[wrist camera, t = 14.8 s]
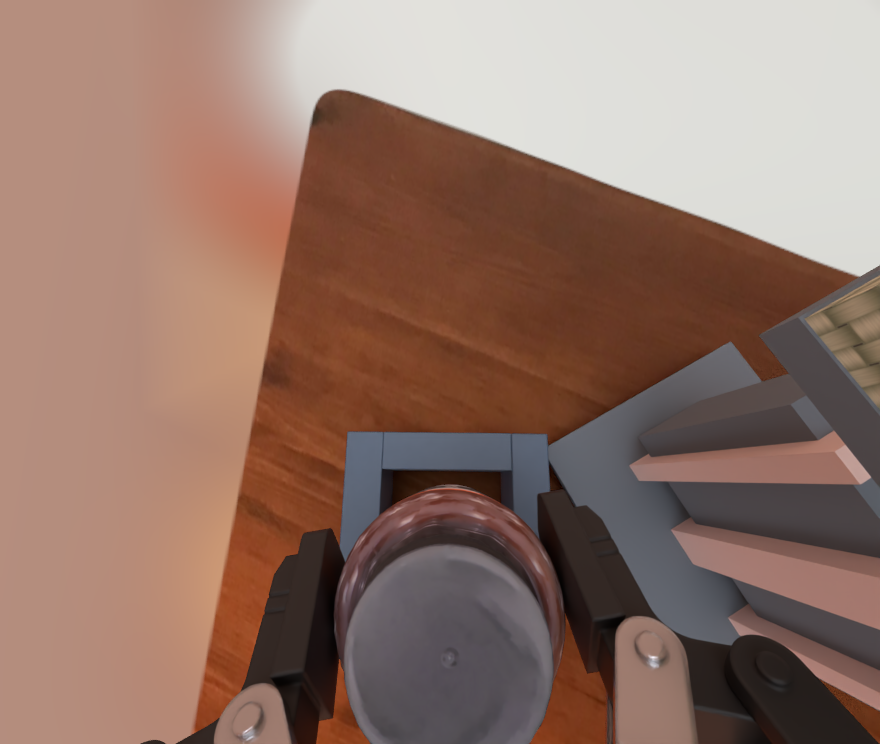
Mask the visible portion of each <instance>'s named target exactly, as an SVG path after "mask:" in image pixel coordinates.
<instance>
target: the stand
mask: <svg viewBox="0 0 880 744" xmlns="http://www.w3.org/2000/svg"><path fill="white" fill-rule="evenodd" d="M393 471H458V472H501V504H503V505H504V506H506V507H507V508H509V509H510V510H512V511H513V512H514V513H515V514H517V515H518V516H519V517H520V518H521V519H522V520H523V521H524V522H525V523H526V524H527V525H528V526H529V527H530V528H531V529H532V530H533V532H534V533H535V534H536V536H537V537H538V538H539V534H538V518H537V495H538V493H543V492H549V491H550V475H549V456H548V437H547V434H518V433H512V434H510V433H435V432H348V433H347V447H346V462H345V476H344V491H343V505H342V520H341V534H340V550H341V552H342V555H343V557H344V560H345V562H346V560H347V557H348V555H349V553H350V551H351V550H352V548H353V546H354V545H355V543H356V541H357V539H358V538H359V536H360V535H361V534H362V533H363V532H364V530H365V529H366V528H367V527H368V526H369V525H370V524H371V523H372V522H373V521H374V520H375V519H376V518H377V517H378V516H379V515H380V514H381V513H383V512H384V511H385V510H387V509H388V508H390V507H391V506H392V492H393ZM539 540H540V539H539ZM339 659H340V657H339Z"/></svg>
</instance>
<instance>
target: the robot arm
mask: <svg viewBox="0 0 880 744" xmlns="http://www.w3.org/2000/svg"><path fill="white" fill-rule="evenodd" d="M537 518H538V534H539V539H540V541H541V543H542V544H543V546H544V547H545V549H546V551H547V553H548V555H549V556H550V558H551V561H552V563H553V565H554V568H555V570H556V573H557V576H558V579H559V582H560V586H561V589H562V593H563V601H564V608H565V613H566V616H567V619H568V622H569V624H570V627H571V630H572V633H573V635H574V638H575V641H576V644H577V647H578V649H579V652H580V655H581V658H582V660H583V663H584V666H585V669H586V671H587V673H593V672H598V671H599V672H600V675H601V678H602V680H603V683H604V685H605V688H606V690H607V691H606V722H605V744H879V743H878V742H877V741H876V740H875V739H874V738H873V737H872V736H871V735H870V734H869V733H868V732H867V730H866V729H865V728H864V727H863V726H862V725H861V724H860V723H859V722H858V721H857V720H856V719H855V718H854V716H853V715H852V714H851V713H850V712H849V711H848V710H847V709H846V708H845V707H844V706H843V705H842V704H841V703H840V701H839V700H838V699H837V698H836V697H835V696H834V695H833V694H832V693H831V692H830V691H829V690H828V689H827V687H826V686H825V685H824V684H823V683H822V682H821V681H820V680H819V679H818V678H817V677H816V676H815V675H814V674H813V672H812V671H811V670H810V669H809V668H808V667H807V666H806V665H805V664H804V663H803V662H802V661H801V660H800V659H799V658H798V657H797V656H796V655H795V654H794V653H793V652H792V651H790V650H789V649H788V648H787V647H785V646H783V645H782V644H780V643H778V642H777V641H775V640H772V639H770V638H767V637H764V636H760V635H753V634H752V635H744V636H741V637H739V638H737V639H736V640H735V641H734V642H733V644H732V646H731V645H725V644H720V643H714V642H708V641H702V640H697V639H693V638H689V637H686V636H683V635H681V634H679V633H677V632H675V631H674V630H672V629H671V628H669V627H668V626H667V625H665V624H664V623H663V622H662V621H661V620H660V619H659V618H658V617H657V616H656V615H655V613H654V612H653V611H652V609H651V608H650V606H649V604H648V602H647V600H646V599H645V597H644V595H643V593H642V591H641V589H640V588H639V586H638V584H637V582H636V580H635V579H634V577H633V575H632V573H631V571H630V569H629V568H628V566H627V564H626V562H625V560H624V558H623V557H622V555H621V553H619V549H618V547H617V546H616V544H615V542H614V540H613V539H612V538H611V535H610V533H609V531H608V529H607V527H606V526H605V524H604V522H603V520H602V518H600V517H599V516H598V515H597V514H596V513H595V512H594V511H593V510H591V509H590V508H589V507H588V506H587V505H584V506H578V507H573V505H572V503H571V501H570V499H569V497H568V495H567V493H566V492H565V490H563V489H561V490H555V491H549V492H543V493H538V495H537ZM344 565H345V560H344V557H343V555H342V552H341V550H340V547H339V545H338V542H337V540H336V537H335V535H334V532H333V530H332V529H331V528H329V529H324V530H318V531H312V532H306V533H304V534H303V536H302V539H301V543H300V547H299V551H298V554H296V555H290V556H286V557H285V559H284V561H283V562H282V564H281V565H280V567H279V568H278V570H277V571H276V573H275V574H274V577H273V581H272V585H271V589H270V592H269V598H268V600H267V603H266V607H265V614H264V615H263V618H262V622H261V625H260V629H259V633H258V636H257V640H256V644H255V647H254V651H253V655H252V658H251V662H250V666H249V669H248V673H247V677H246V680H245V683H244V685H243V687H242V690H241V692H240V693H239V694H238V695H236V696H235V697H234V698H233V699H232V701H231V702H230V703H229V704H228V705H227V707H226V708H225V710H224V711H223V713H222V715H221V717H220V718H218V719H217V720H216V721H215V722H213V723H212V724H210V725H208V726H207V727H205V728H203V729H201V730H200V731H198V732H196V733H194V734H192V735H191V736H189V737H187V738H185V739H184V740H182V741H180V742H178V743H176V744H316V740H317V732H318V724H319V721H321V720H326V719H332V718H333V712H334V702H335V693H336V683H337V673H338V664H339V654H338V650H337V643H336V639H335V634H334V616H333V613H334V602H335V595H336V591H337V586H338V582H339V579H340V576H341V573H342V569H343V567H344ZM141 744H165V743H164V742H162V741H158V740H151V741H147V742H144V743H141Z"/></svg>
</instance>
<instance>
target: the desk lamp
mask: <svg viewBox="0 0 880 744" xmlns="http://www.w3.org/2000/svg"><path fill="white" fill-rule="evenodd" d="M759 336H760V338H761V339H762V340H763V341H764V343H765V344H766V345H767V347H768V348H769V349H770V350H771V352H772V353H773V354H774V355H775V357H776V358H777V359H778V360H779V362H780V363H781V364H782V365H783V367H784V368H785V369H786V370H787V372H788V373H789V374H786V375H783V376H780V377H776V378H773V379H770V380H766V381H763V382H762V381H761V380H760V379H759V377H758V376H757V375H756V373H755V372H754V371H753V369H752V368H751V367H750V366H749V364H748V363H747V362H746V360H745V359H744V358H743V357H742V355H741V354H740V353H739V351H738V350H737V349H736V347H735V346H734V345H733V344H732V342H729V343H727V344H725V345H723V346H721V347H719V348H718V349H716V350H714V351H713V352H711V353H709V354H707V355H706V356H704V357H702V358H700V359H699V360H697V361H695V362H693V363H692V364H690V365H688V366H686V367H685V368H683V369H681V370H679V371H678V372H676V373H674V374H672V375H671V376H669V377H667V378H665V379H664V380H662V381H660V382H658V383H657V384H655V385H653V386H651V387H650V388H648V389H646V390H644V391H643V392H641V393H639V394H638V395H636V396H634V397H632V398H631V399H629V400H627V401H625V402H624V403H622V404H620V405H618V406H617V407H615V408H613V409H611V410H610V411H608V412H606V413H604V414H603V415H601V416H599V417H597V418H596V419H594V420H592V421H590V422H589V423H587V424H585V425H583V426H582V427H580V428H578V429H576V430H575V431H573V432H571V433H569V434H568V435H566V436H564V437H563V438H561V439H559V440H557V441H556V442H554V443H552V444H550V445H549V446H548V456H549V465H550V466H551V468H552V470H553V471H554V473H555V475H556V476H557V478H558V480H559V481H560V483H561V485H562V486H563V488H564V490H565V491H566V493H567V495H568V496H569V498H570V500H571V501H572V503H573V505H574V506H575V507H578V506H584V505H587V506H588V507H589V508H590V509H591V510H593V511H594V512H595V513H596V514H597V515H598V516H599V517H600V518H602V520H603V522H604V524H605V526H606V527H607V529H608V531H609V533H610V535H611V538H612V539H613V540H614V542H615V544H616V546H617V547H618V549H619V553H621V555H622V557H623V558H624V560H625V562H626V564H627V566H628V568H629V569H630V571H631V573H632V575H633V577H634V579H635V580H636V582H637V584H638V586H639V588H640V589H641V591H642V593H643V595H644V597H645V599H646V600H647V602H648V604H649V606H650V608H651V609H652V611H653V612H654V613H655V615H656V616H657V617H658V618H659V619H660V620H661V621H662V622H663V623H664V624H665V625H667V626H668V627H669V628H671V629H672V630H674V631H675V632H677V633H679V634H681V635H683V636H686V637H689V638H693V639H697V640H702V641H708V642H714V643H720V644H725V645H731V646H732V644H733V642H734V641H735V640H736V639H737V638H739V637H741V636H744V635H752V634H753V635H760V636H764V637H767V638H770V639H772V640H775V641H777V642H778V643H780V644H782V645H783V646H785V647H787V648H788V649H789V650H790V651H792V652H793V653H794V654H795V655H796V656H797V657H798V658H799V659H800V660H801V661H802V662H803V663H804V664H805V665H806V666H807V667H808V668H809V669H810V670H811V671H812V672H813V674H814V675H815V676H816V677H817V678H819V679H821V680H823V681H824V682H826V683H828V684H830V685H832V686H834V687H836V688H837V689H839V690H841V691H843V692H845V693H847V694H849V695H850V696H852V697H854V698H856V699H858V700H860V701H861V702H863V703H865V704H867V705H869V706H871V707H873V708H874V709H876V710H878V711H880V266H878V267H876V268H875V269H873V270H871V271H869V272H868V273H866V274H864V275H862V276H861V277H859V278H857V279H855V280H854V281H852V282H850V283H849V284H847V285H845V286H843V287H842V288H840V289H838V290H836V291H835V292H833V293H831V294H829V295H828V296H826V297H824V298H823V299H821V300H819V301H817V302H816V303H814V304H812V305H810V306H809V307H807V308H805V309H803V310H802V311H800V312H798V313H797V314H795V315H793V316H791V317H790V318H788V319H786V320H784V321H783V322H781V323H779V324H777V325H776V326H774V327H772V328H771V329H769V330H767V331H765V332H764V333H762V334H760V335H759Z"/></svg>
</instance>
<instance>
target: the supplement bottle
mask: <svg viewBox="0 0 880 744" xmlns="http://www.w3.org/2000/svg"><path fill="white" fill-rule="evenodd" d="M333 616H334V634H335V639H336V643H337V650H338V654H339V657H340V660H341V667H342V669H343V671H344V680H345V685H346V689H347V695H348V699H349V702H350V706H351V709H352V711H353V713H354V716H355V718H356V721H357V723H358V726H359V727H360V729H361V730H362V732H363V734H364V735H365V736H366V738H367V739H368V740H369V742H370V743H371V744H529V743H530V742H531V740H532V738H533V737H534V735H535V733H536V731H537V730H538V729H539V727H540V726H541V723H542V721H543V719H544V717H545V714H546V710H547V706H548V703H549V700H550V695H551V691H552V684H553V681H554V679H555V676H556V673H557V670H558V667H559V665H560V661H561V658H562V651H563V646H564V641H565V608H564V601H563V593H562V589H561V586H560V582H559V579H558V576H557V573H556V570H555V568H554V565H553V563H552V561H551V558H550V556H549V555H548V553H547V551H546V549H545V547H544V546H543V544H542V543H541V541H540V540H539V538H538V537H537V536H536V534H535V533H534V532H533V530H532V529H531V528H530V527H529V526H528V525H527V524H526V523H525V522H524V521H523V520H522V519H521V518H520V517H519V516H518V515H517V514H515V513H514V512H513V511H512V510H510V509H509V508H507V507H506V506H504V505H503V504H501V503H499V502H498V501H496V500H494V499H492V498H491V497H489V496H487V495H485V494H483V493H481V492H480V491H477V490H475V489H472V488H469V487H465V486H460V485H440V486H435V487H429V488H426V489H424V490H422V491H420V492H418V493H416V494H413V495H411V496H409V497H407V498H405V499H403V500H401V501H399V502H397V503H396V504H394V505H393V506H391V507H390V508H388V509H387V510H385V511H384V512H383V513H381V514H380V515H379V516H378V517H377V518H376V519H375V520H374V521H373V522H372V523H371V524H370V525H369V526H368V527H367V528H366V529H365V530H364V532H363V533H362V534H361V535H360V536H359V538H358V539H357V541H356V543H355V545H354V546H353V548H352V550H351V551H350V553H349V555H348V557H347V560H346V562H345V565H344V567H343V569H342V573H341V576H340V579H339V582H338V586H337V591H336V595H335V602H334V613H333Z"/></svg>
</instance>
